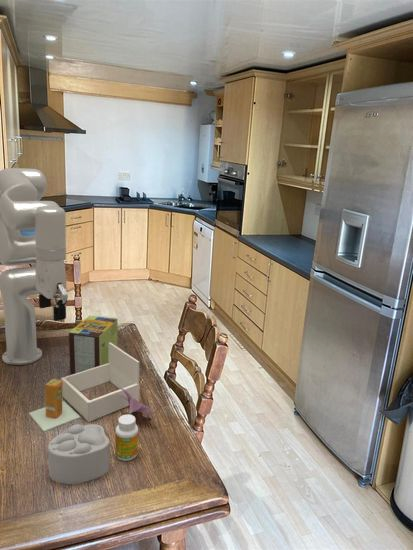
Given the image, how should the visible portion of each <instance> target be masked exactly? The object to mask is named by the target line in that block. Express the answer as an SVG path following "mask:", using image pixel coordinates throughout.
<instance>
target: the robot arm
mask: <svg viewBox="0 0 413 550" xmlns="http://www.w3.org/2000/svg"><path fill="white" fill-rule="evenodd" d="M46 191H47V179H46V175H44V173H43V172H42V171H41V170H39V169H37V168H30V167H29V168H27V167H26V168H24V167H23V168H22V167H21V168H20V167H8V168H7V167H6V168H4V169H3V168H2V169H1V170H0V263H1V265H3V266H6V267H7V266H8V267H11V266H12V267H13V266H23V265H30V264H31V265H33V266H23V267H14V268H9V269H6V270H4V271H2V272H0V294H1V299H2V300H1V301H2V306H3V307H2V308H3V316H4V317H3V318H4V328H5V329H4V330H5V343H6V344H5V345H6V351H5V352H4V353H2V355H1V358H2V362H4V363H5V364H7V365H10V366H25V365H29V364H32V363H34V362H37V361H38V360H39V359H41V358H42V357H43V351H42V349H40V348H39V347H37V346H38V343H37V326H36V325H37V323H36V310H35V306H34V304H33V303H32V302H31V301H30V300H28V299H27V297H31V296H36V295H38V307H39V309H46V308H50V307H52V301H53V304H54V306H53V321H55V322H57V321H62V320H66V318H67V303H68V298H69V294H68V292H67V273H66V264H65V261H66V260H67V240H66V239H67V235H66V234H67V230H66V226H67V223H66V222H67V221H66V219H67V217H66V216H67V215H66V211H65V210H64V209H65V208H62V207H60V206H59V204H58V203H56V201H52V200H41V199H42V198H43V197H44V195H45V193H46ZM25 230H26V231H27V230H34V235H22V233H21V231H25Z"/></svg>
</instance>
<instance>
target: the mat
mask: <svg viewBox="0 0 413 550" xmlns="http://www.w3.org/2000/svg"><path fill="white" fill-rule="evenodd" d="M28 415H29V416H30V418H32V420H33V421H34V423H36V424H37V426H38V427H39V428H40V429H41V431H42V432H43V433H46V432H48V431H51V430H53V429H56V428H59V427H60V426H64V425H66V424H68V423H72V422H74V421H76V420H79V419H81V416H80V415H79V414H78V413H77V412H76V411H75V410H74V408H72V406H71V405H70V404H68V403H67V401H65V400H62V413H61V414H60V415H59V416H58V417H57V418H56V419H54V418H50V417H46V406H44V407H42V408H39V409H36V410H34V411H30V412H28Z"/></svg>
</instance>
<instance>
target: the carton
mask: <svg viewBox="0 0 413 550" xmlns="http://www.w3.org/2000/svg"><path fill="white" fill-rule="evenodd" d="M108 350H109V363H107V364H104V365H101V366H98V367H95V368H92V369H89V370H85V371H82V372H79V373H76V374H73V375H70V374H69V375H66V376H64V377H61V378H60V381H62V382H63V384H62V398H63V399H64V400H66V402H68V403H69V405H70V406H71V407H73V409H75V410H76V411H77V412H78V413H79V414H80V415H81V416H82V417H83V418H84V419H85V421H87V422H88V423H89V422H92V421H95V420H98V419H100V418H102V417H105V416H106V415H109V414H112V413H114V412H117V411H120V410H123V409H124V408H127V407H129V403H128V401H127V400H128V399H127V400H125V399H124V398H122V397H121V396H124V397H126V395H125V393H124V392H123V390H122V389H124V390H125V391H127V392H128V393H129V394H130V395H131V396H132V398H135V399H136V400H138V401H139V400H140V385H141V384H140V361H139V360H137V359H136V358H135V357H133V356H131V355H130V354H128V353H127V352H125V351H124V350H123V349H121V348H120V347H118V346H117V347H116V346H115V345H113V344H112V343H108ZM108 382H110V383H111V384H112V385H114V386H115V387H116V388H118V389H117V390H115V391H112V392H108V393H106V394H104V395H100V396H99V397H96V398H93V399H91V400H90V399H88V398H87V397H86V396H85V395H84V394H83V393H82V391H85V390H88V389H91V388H93V387H97V386H99V385H102V384H104V383H108ZM120 387H121V388H122V389H121V388H120ZM126 398H127V397H126Z"/></svg>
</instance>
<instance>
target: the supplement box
mask: <svg viewBox="0 0 413 550" xmlns="http://www.w3.org/2000/svg"><path fill="white" fill-rule="evenodd" d="M62 384H63V382H62V381H61V379H57V378H52V379H51V380H49V381H48V382H47V383H45V407H46V417H50V418H54V419H56V418H57V417H58V416H59V415H60V414H61V413H62V401H63V396H62Z"/></svg>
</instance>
